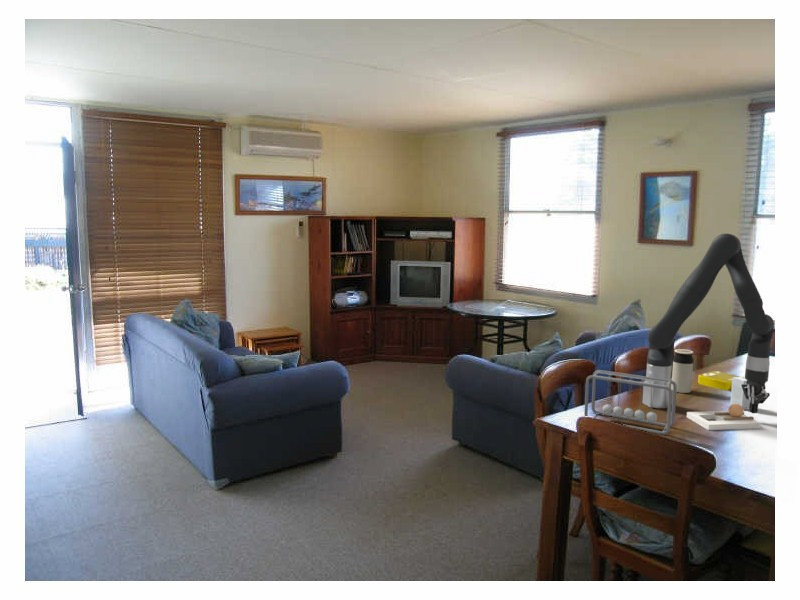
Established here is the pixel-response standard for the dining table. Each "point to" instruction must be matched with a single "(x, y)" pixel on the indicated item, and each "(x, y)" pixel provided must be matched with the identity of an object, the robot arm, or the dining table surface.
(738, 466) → the dining table surface
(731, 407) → the ball
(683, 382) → the travel mug
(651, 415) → the newton's cradle
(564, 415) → the dining table surface
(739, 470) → the dining table surface
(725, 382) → the element tile
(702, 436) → the dining table surface
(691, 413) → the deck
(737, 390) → the skincare box
